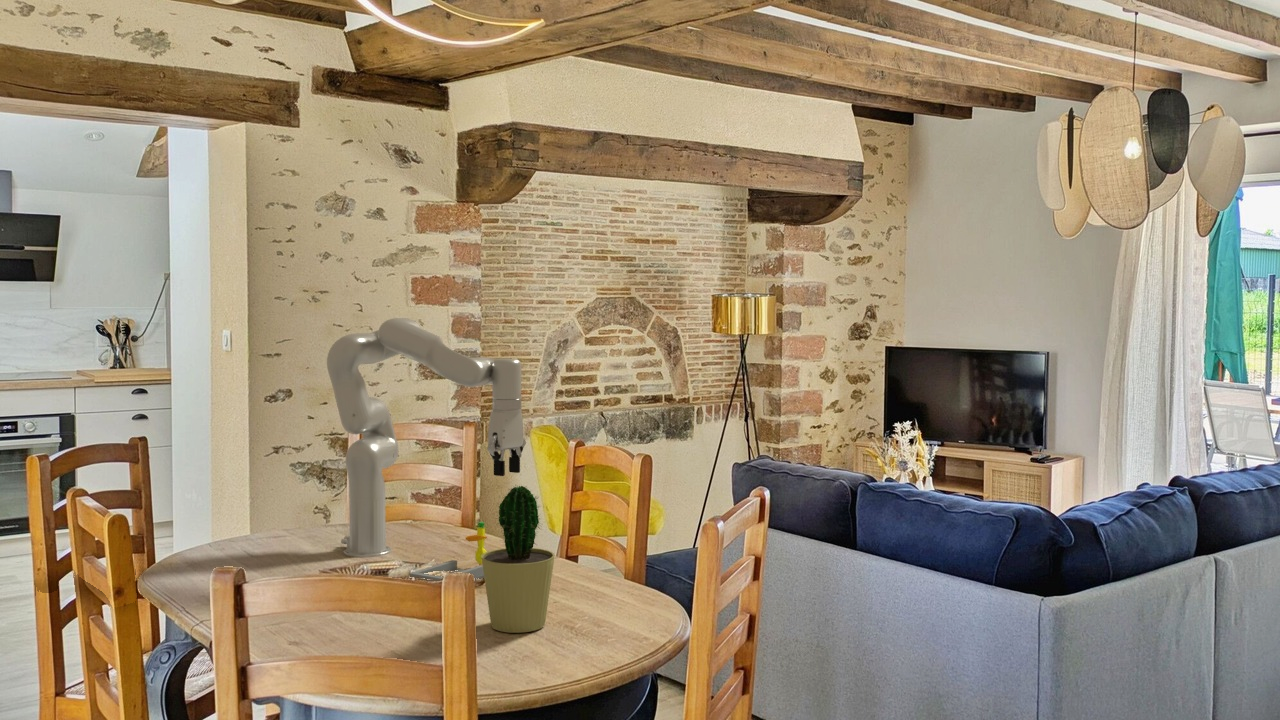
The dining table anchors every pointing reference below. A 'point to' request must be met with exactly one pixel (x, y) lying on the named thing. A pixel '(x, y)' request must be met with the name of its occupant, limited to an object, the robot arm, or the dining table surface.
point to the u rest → (447, 566)
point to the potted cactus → (518, 568)
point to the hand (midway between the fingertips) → (506, 473)
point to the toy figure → (479, 541)
